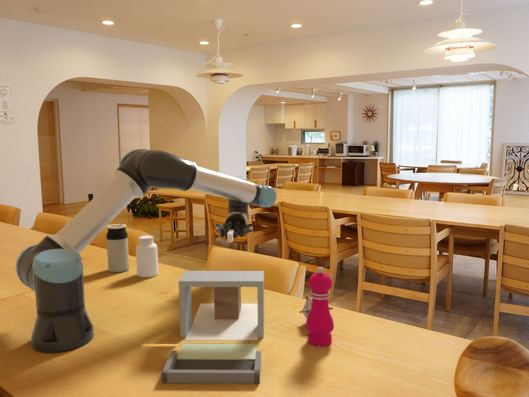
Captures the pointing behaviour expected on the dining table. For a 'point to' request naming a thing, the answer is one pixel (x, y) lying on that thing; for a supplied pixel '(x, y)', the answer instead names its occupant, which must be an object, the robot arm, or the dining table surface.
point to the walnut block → (227, 302)
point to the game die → (308, 307)
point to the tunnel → (204, 321)
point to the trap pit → (212, 370)
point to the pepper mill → (320, 310)
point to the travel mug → (117, 248)
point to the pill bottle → (146, 257)
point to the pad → (217, 351)
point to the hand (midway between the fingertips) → (229, 238)
